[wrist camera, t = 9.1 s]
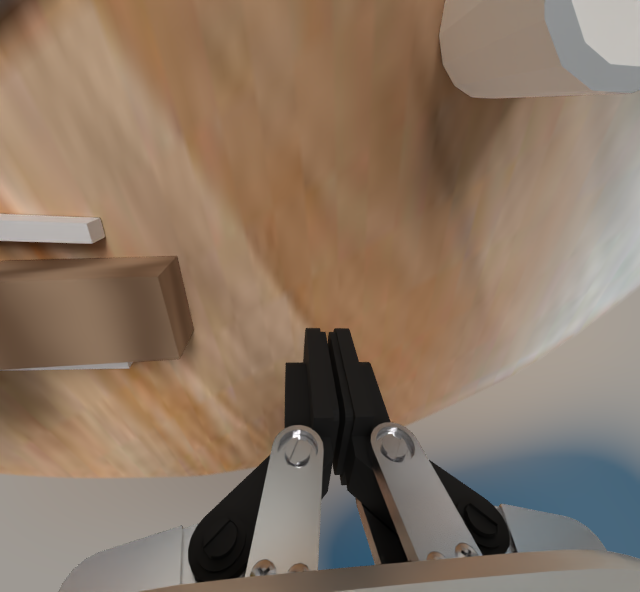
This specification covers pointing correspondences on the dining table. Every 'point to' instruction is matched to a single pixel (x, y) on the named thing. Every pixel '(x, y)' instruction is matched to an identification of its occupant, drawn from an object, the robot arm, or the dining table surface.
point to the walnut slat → (92, 311)
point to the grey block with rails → (57, 232)
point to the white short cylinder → (541, 47)
